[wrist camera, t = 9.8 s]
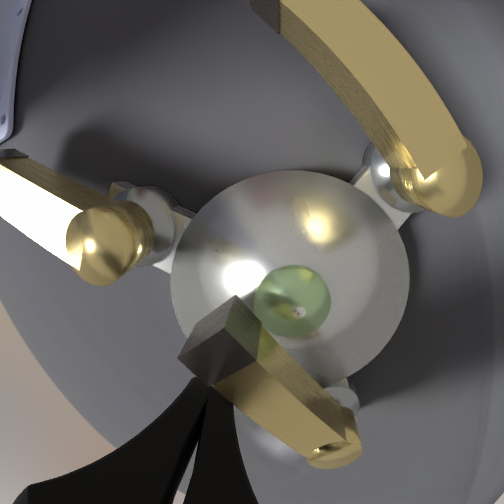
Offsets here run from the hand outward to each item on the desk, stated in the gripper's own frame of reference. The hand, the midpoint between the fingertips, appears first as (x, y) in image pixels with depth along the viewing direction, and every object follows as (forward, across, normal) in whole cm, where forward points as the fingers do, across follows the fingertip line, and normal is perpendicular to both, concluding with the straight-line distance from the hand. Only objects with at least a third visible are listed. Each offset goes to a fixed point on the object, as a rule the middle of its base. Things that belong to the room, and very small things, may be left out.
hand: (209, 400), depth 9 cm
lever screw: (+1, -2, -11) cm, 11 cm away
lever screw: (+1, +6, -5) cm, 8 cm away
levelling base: (+2, -2, -4) cm, 5 cm away
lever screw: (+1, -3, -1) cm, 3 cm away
